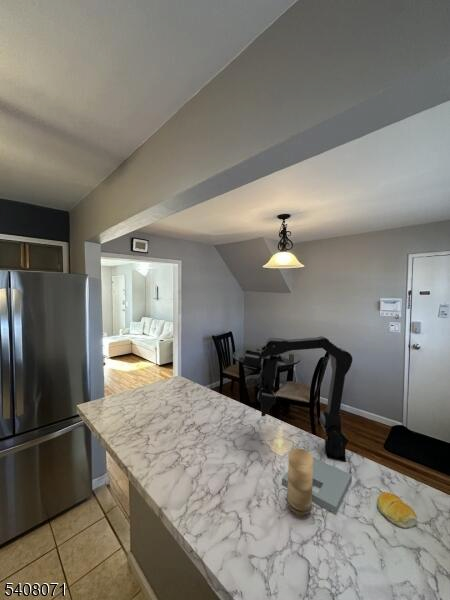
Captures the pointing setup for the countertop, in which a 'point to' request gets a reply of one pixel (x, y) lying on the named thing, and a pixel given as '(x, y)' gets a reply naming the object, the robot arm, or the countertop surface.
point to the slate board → (327, 485)
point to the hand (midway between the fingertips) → (262, 410)
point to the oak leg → (300, 481)
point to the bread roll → (396, 510)
